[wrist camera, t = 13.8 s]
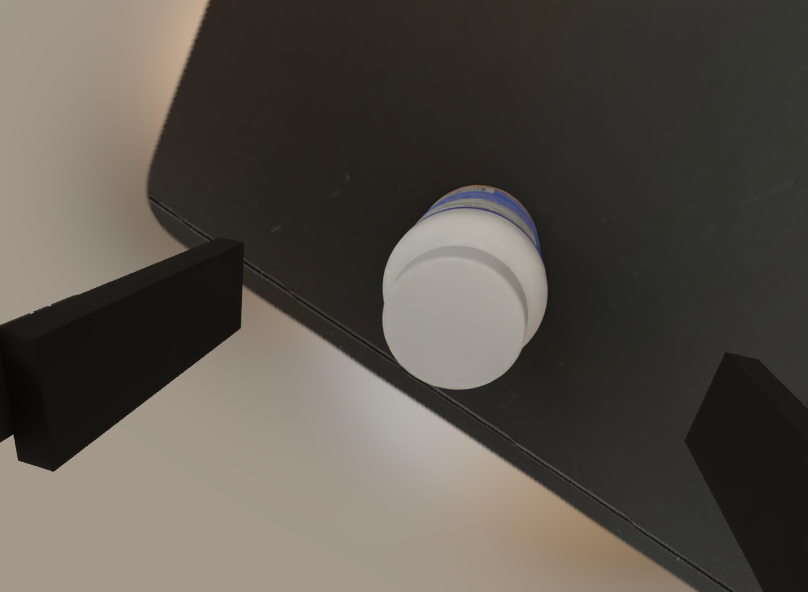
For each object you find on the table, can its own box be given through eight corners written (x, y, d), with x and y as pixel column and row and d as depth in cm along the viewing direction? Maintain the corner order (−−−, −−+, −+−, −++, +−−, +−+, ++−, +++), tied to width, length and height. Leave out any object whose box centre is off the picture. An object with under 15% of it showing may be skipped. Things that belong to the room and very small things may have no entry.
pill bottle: (500, 317, 23) (492, 446, 14) (399, 265, 23) (330, 360, 14) (562, 217, 21) (599, 295, 12) (451, 160, 21) (406, 196, 12)
